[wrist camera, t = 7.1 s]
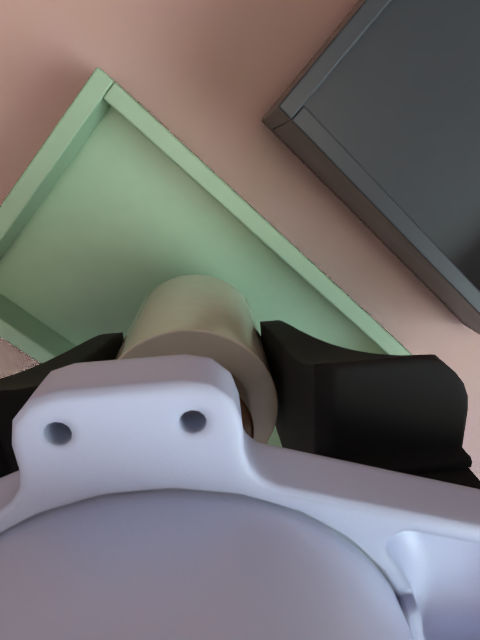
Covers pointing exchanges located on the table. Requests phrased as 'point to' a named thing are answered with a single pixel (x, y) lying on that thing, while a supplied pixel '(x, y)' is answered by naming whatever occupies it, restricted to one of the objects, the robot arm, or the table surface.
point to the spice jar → (209, 340)
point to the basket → (400, 134)
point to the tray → (145, 237)
